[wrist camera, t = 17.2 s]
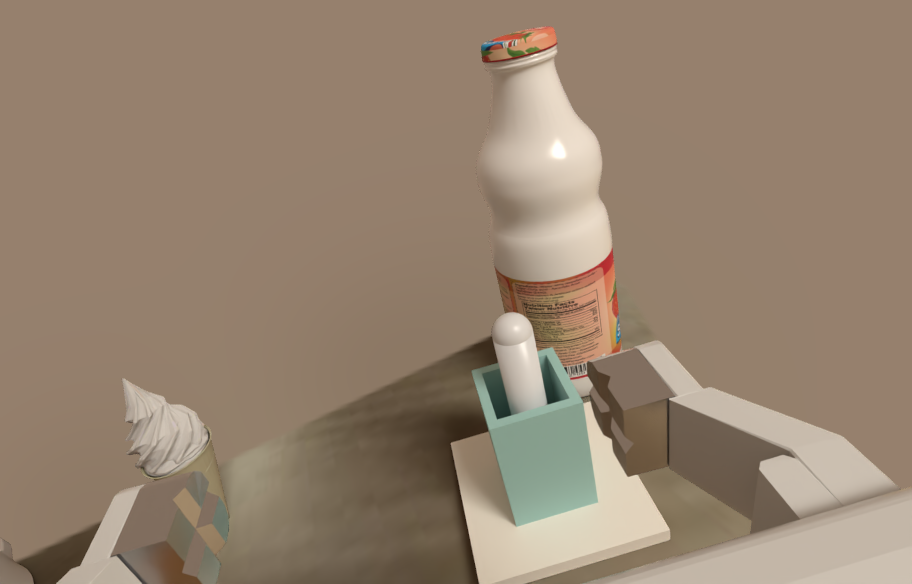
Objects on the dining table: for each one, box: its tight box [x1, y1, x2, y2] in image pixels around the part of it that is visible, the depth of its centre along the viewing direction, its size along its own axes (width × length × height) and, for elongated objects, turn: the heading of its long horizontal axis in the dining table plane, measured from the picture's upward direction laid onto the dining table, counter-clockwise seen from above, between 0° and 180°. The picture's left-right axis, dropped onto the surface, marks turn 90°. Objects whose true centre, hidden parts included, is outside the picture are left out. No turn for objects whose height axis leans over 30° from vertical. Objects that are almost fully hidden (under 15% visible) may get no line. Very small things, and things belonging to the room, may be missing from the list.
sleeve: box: [472, 347, 598, 527], centre depth 34 cm, size 6×6×9 cm
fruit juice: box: [476, 27, 622, 397], centre depth 41 cm, size 9×9×28 cm
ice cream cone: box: [122, 378, 229, 519], centre depth 38 cm, size 5×5×15 cm
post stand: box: [451, 312, 670, 584], centre depth 33 cm, size 12×12×15 cm
